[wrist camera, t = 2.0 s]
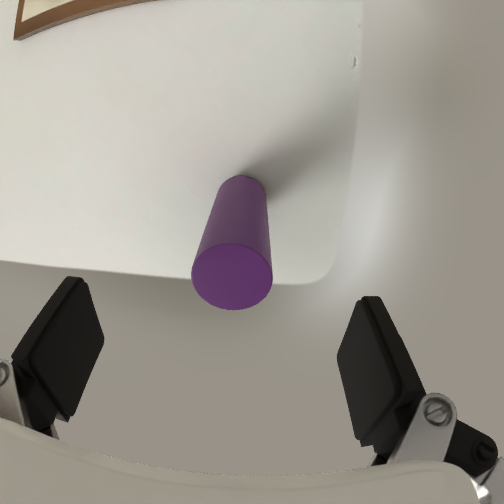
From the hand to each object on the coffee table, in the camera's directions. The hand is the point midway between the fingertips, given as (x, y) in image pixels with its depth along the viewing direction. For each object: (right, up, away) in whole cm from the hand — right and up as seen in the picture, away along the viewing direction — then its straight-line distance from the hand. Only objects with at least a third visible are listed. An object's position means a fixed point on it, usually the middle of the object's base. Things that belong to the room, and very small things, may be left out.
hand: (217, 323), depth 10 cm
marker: (+1, +6, +11) cm, 12 cm away
